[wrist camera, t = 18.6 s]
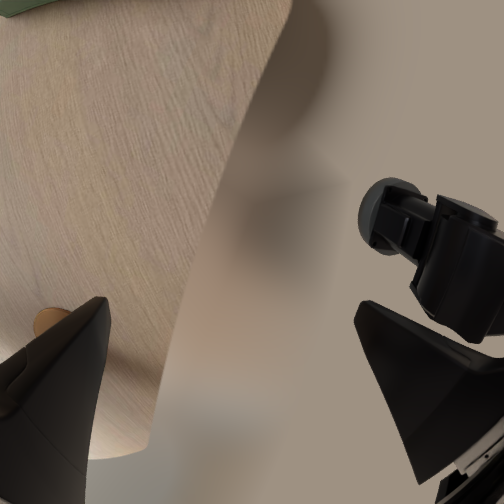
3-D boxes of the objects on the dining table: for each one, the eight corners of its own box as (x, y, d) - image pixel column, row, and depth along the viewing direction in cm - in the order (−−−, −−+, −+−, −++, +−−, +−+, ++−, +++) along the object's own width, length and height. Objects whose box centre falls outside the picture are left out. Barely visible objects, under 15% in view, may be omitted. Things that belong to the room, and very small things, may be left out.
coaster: (95, 312, 22) (94, 315, 21) (109, 371, 25) (108, 374, 25) (26, 302, 20) (24, 304, 19) (47, 360, 23) (46, 362, 23)
